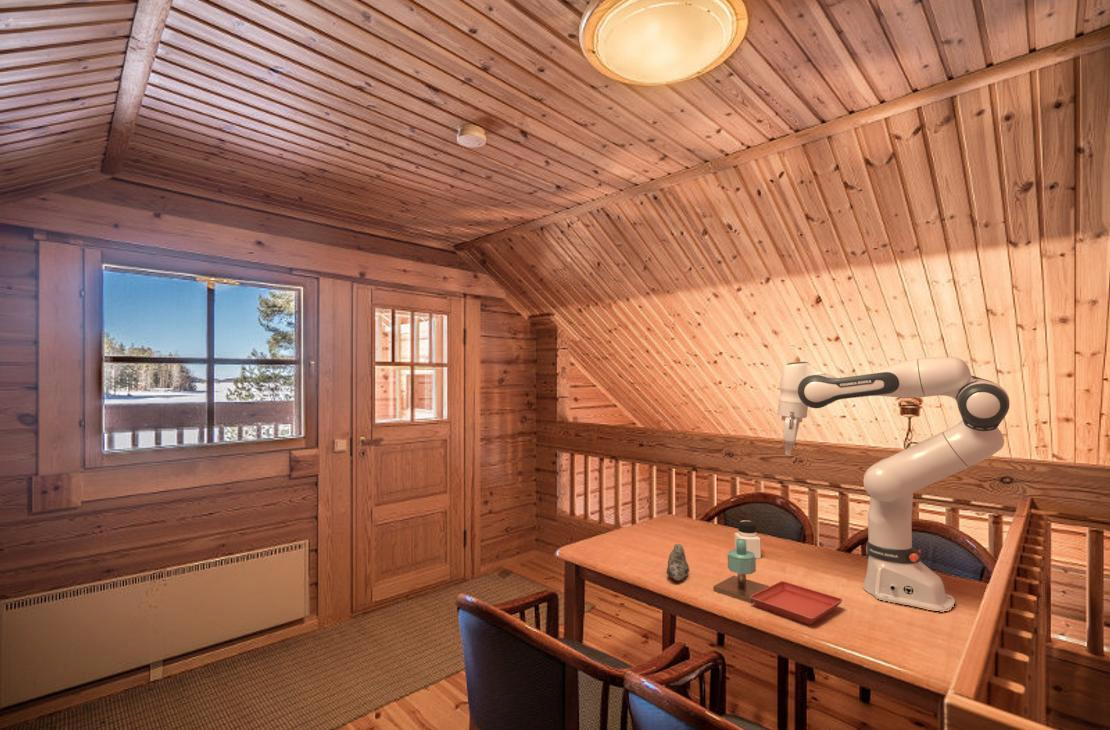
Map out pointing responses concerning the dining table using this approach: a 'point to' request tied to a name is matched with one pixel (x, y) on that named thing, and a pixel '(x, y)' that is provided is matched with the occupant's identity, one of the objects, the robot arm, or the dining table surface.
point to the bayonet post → (739, 587)
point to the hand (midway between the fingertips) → (788, 452)
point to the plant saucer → (795, 602)
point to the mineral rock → (677, 563)
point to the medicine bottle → (749, 537)
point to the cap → (741, 559)
